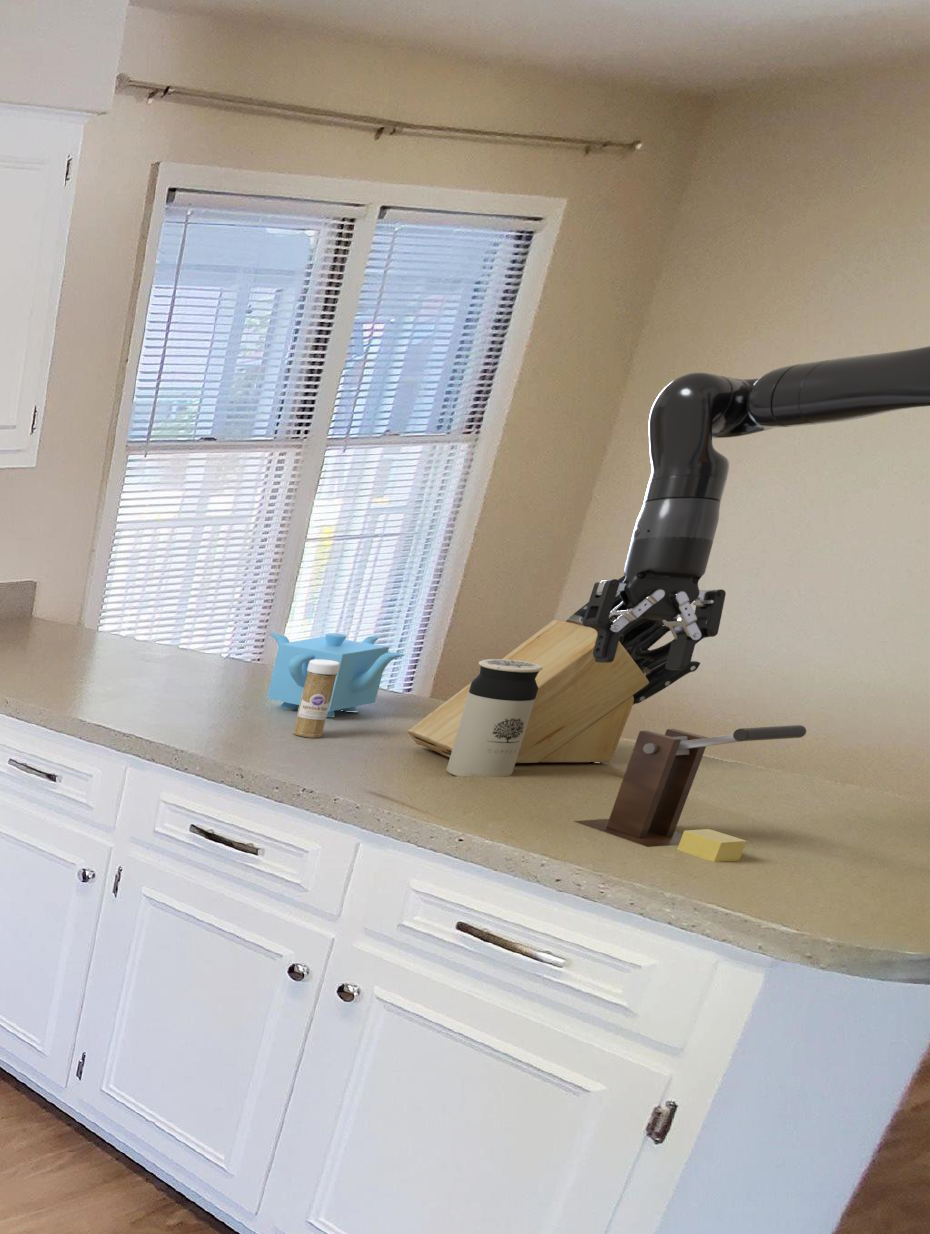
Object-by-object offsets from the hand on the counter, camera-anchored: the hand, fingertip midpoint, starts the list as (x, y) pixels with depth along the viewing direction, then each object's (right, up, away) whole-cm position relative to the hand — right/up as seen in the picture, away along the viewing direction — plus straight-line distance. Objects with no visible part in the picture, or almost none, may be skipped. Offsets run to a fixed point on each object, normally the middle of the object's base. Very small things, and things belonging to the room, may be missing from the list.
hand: (639, 665), depth 145 cm
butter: (+6, -26, -3) cm, 27 cm away
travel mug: (+6, -13, +32) cm, 35 cm away
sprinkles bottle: (-5, -4, +55) cm, 55 cm away
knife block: (+23, -9, +40) cm, 47 cm away
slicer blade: (+5, -11, -5) cm, 13 cm away
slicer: (+5, -23, +5) cm, 24 cm away
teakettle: (+9, +3, +71) cm, 72 cm away
